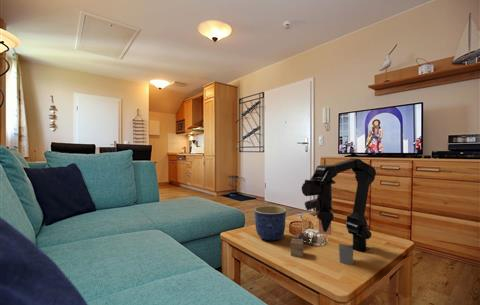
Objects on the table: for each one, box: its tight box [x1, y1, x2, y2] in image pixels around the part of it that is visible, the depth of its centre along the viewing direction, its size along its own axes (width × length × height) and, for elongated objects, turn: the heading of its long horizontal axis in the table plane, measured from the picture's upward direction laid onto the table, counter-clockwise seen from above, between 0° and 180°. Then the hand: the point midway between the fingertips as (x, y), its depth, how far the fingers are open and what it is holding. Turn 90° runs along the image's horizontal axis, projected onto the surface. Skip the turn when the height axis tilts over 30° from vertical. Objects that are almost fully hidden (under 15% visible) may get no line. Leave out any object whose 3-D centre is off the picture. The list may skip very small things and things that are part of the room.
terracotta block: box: [318, 219, 332, 236], centre depth 100 cm, size 5×5×6 cm
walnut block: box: [290, 238, 304, 258], centre depth 103 cm, size 5×5×6 cm
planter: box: [253, 205, 287, 241], centre depth 123 cm, size 17×17×15 cm
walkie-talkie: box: [294, 230, 311, 244], centre depth 119 cm, size 9×4×20 cm
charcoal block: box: [338, 243, 354, 265], centre depth 96 cm, size 5×5×6 cm
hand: (324, 229), depth 100 cm, fingers closed on terracotta block, 5 cm apart
